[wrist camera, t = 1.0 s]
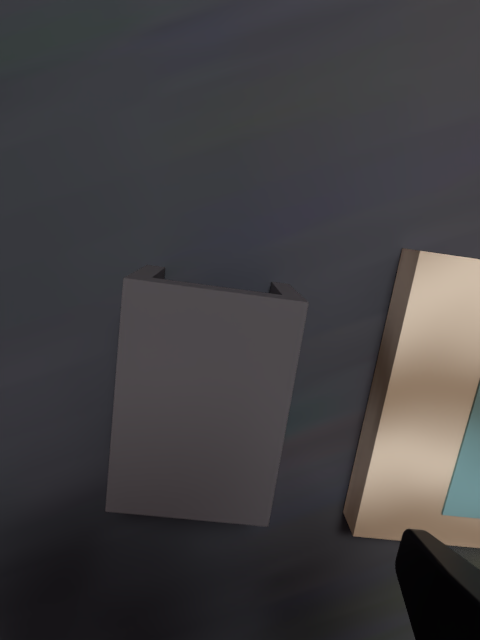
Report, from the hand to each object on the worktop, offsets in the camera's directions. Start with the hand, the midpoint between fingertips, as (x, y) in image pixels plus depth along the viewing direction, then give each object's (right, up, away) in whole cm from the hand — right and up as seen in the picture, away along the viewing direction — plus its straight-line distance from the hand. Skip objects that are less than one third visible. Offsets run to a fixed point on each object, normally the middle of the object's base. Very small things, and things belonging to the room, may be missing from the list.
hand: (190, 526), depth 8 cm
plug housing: (0, +2, +9) cm, 9 cm away
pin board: (+12, 0, +10) cm, 16 cm away
